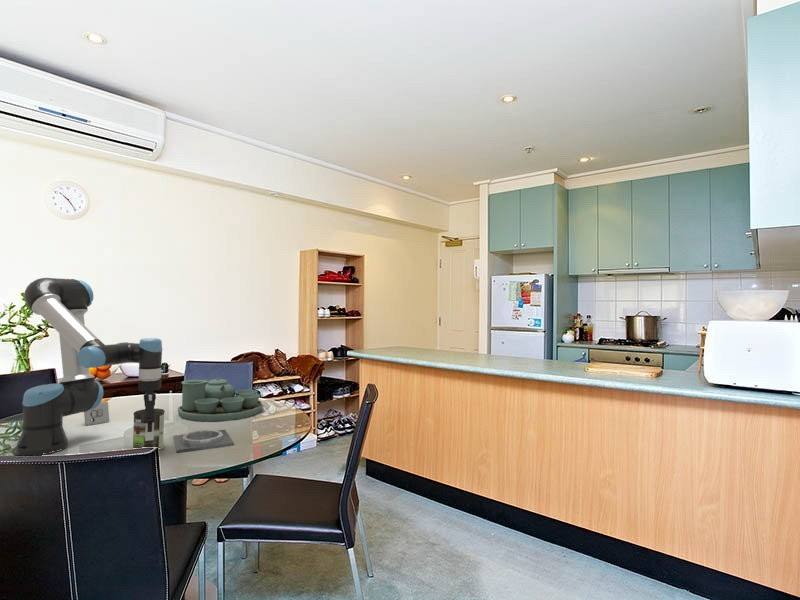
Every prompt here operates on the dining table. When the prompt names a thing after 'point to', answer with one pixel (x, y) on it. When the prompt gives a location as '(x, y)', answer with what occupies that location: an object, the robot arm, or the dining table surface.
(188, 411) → the tea set
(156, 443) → the coffee can
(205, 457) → the dining table surface
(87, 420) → the electrical switch
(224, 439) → the flange base
